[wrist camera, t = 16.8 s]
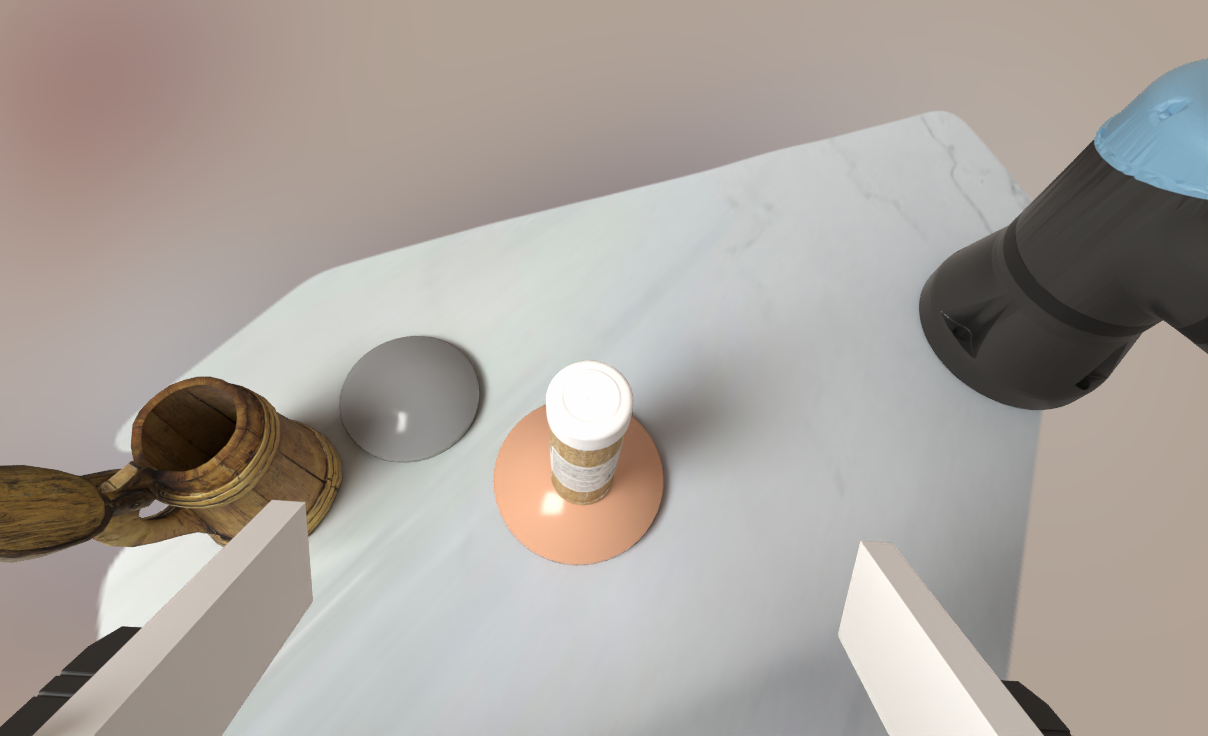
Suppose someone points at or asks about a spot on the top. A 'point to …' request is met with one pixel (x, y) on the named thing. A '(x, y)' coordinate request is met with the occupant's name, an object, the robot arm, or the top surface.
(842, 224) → the top surface
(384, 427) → the slate coaster
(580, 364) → the sprinkles bottle
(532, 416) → the terracotta coaster
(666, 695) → the top surface
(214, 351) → the top surface
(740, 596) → the top surface
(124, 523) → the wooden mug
